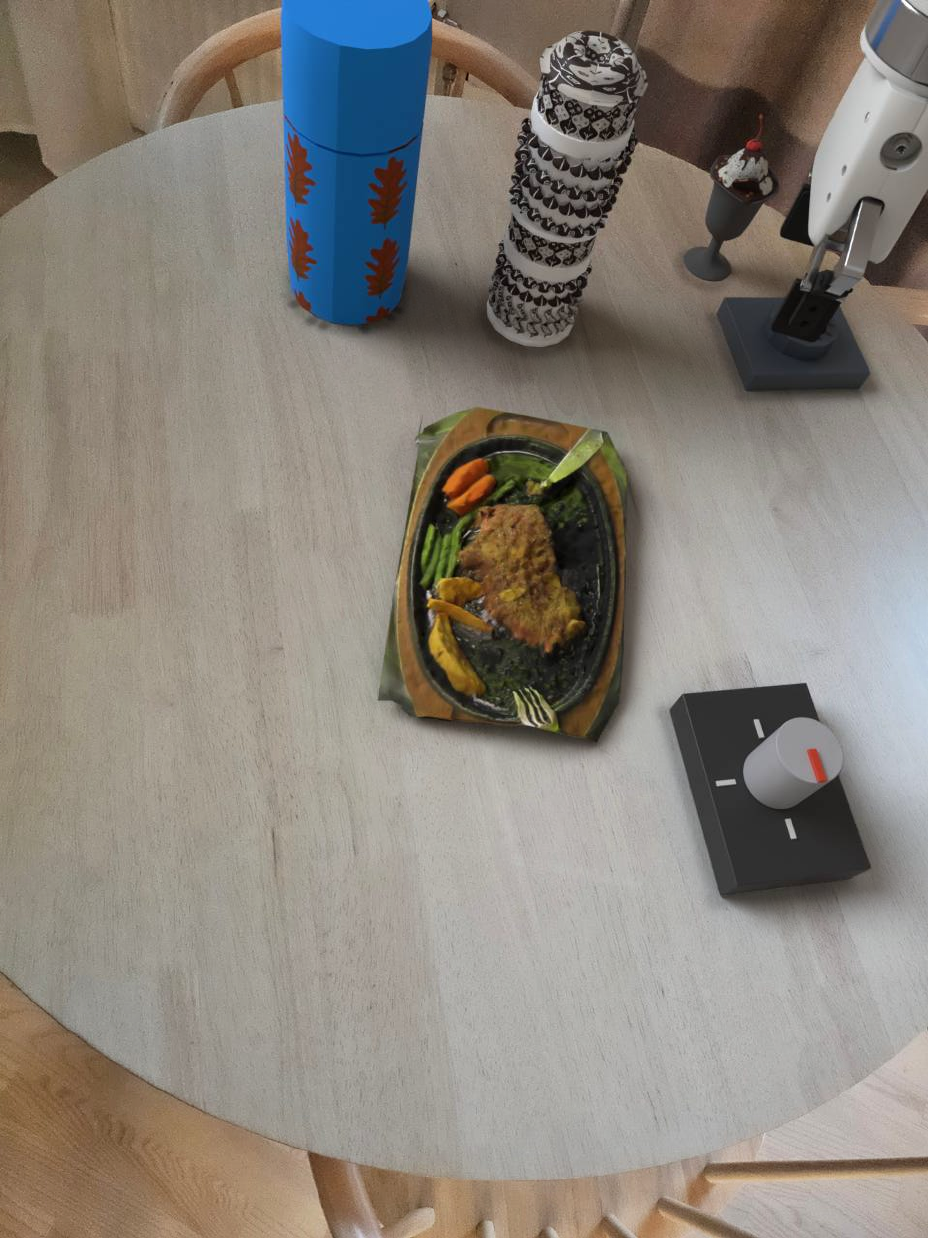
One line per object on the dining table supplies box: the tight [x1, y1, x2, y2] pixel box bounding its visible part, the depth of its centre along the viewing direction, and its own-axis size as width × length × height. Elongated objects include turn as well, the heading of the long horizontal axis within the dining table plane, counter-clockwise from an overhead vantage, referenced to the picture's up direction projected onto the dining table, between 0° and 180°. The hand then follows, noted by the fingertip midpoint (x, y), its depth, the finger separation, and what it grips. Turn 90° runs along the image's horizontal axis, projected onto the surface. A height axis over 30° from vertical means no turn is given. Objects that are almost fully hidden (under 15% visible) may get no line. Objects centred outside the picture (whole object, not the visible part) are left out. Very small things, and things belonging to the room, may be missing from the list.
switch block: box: [716, 295, 872, 392], centre depth 91 cm, size 12×10×4 cm
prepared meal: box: [377, 406, 628, 744], centre depth 74 cm, size 28×4×18 cm
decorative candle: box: [486, 29, 649, 348], centre depth 79 cm, size 9×9×25 cm
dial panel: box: [669, 682, 872, 897], centre depth 68 cm, size 14×10×3 cm
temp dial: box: [743, 717, 844, 809], centre depth 64 cm, size 5×5×6 cm
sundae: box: [683, 113, 780, 282], centre depth 90 cm, size 7×7×15 cm
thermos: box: [280, 0, 433, 326], centre depth 77 cm, size 11×11×25 cm
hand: (796, 285), depth 65 cm, fingers open, 9 cm apart
